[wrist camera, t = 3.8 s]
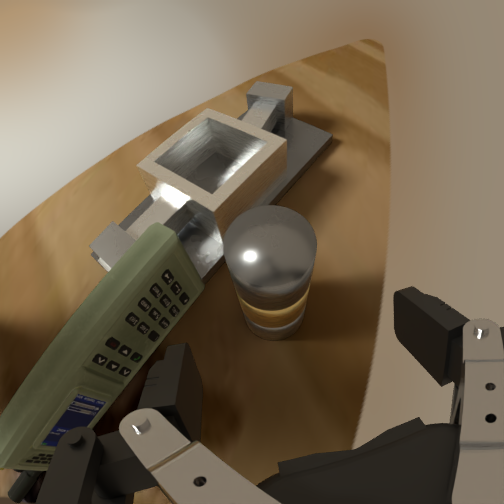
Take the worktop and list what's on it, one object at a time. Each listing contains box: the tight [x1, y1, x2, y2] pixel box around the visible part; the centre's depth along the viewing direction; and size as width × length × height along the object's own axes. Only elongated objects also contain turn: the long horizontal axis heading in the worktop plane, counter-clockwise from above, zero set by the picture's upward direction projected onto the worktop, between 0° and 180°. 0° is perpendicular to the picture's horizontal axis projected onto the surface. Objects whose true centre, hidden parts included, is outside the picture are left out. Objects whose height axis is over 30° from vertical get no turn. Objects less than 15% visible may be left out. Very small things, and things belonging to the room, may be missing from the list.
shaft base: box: [89, 81, 333, 285], centre depth 25 cm, size 22×9×5 cm, turn 142°
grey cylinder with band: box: [223, 205, 317, 340], centre depth 18 cm, size 4×4×9 cm
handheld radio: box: [0, 222, 205, 503], centre depth 17 cm, size 7×3×25 cm
